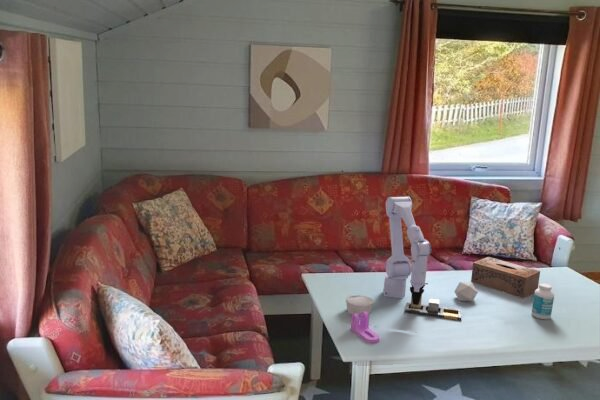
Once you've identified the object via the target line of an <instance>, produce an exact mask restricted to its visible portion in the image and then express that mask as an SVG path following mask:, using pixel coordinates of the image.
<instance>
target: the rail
mask: <svg viewBox="0 0 600 400" xmlns="http://www.w3.org/2000/svg"><path fill="white" fill-rule="evenodd" d="M428 305H429V304H428ZM428 305H427V304H422V303H421V308H420V309H419V308H412V307H411V302H405V309H404V313H405V314H412V315H418V316H419V315H420V316H424V317H425V316H427V317H432V318H440V319H448V320H453V321H461V322H462V309H456V308H451V307H441V306H439V309H438V313H433V312H428Z"/></svg>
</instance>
